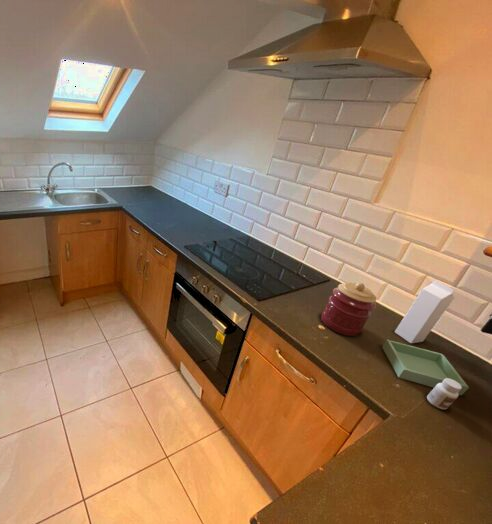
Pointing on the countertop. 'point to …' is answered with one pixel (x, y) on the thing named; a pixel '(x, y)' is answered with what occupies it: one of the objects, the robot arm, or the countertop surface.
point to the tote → (421, 365)
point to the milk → (425, 312)
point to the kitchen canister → (349, 308)
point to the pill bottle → (444, 393)
